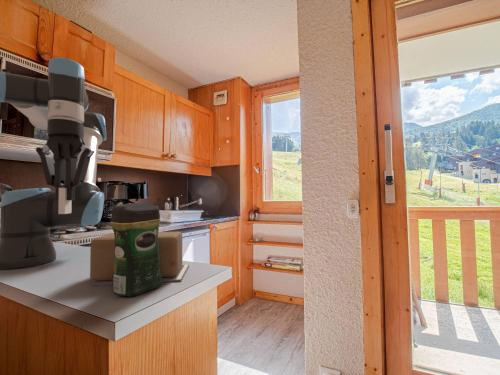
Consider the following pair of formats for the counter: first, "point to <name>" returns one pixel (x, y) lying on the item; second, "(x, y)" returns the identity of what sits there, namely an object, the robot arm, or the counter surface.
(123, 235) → the coffee jar
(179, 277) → the gray book
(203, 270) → the counter surface
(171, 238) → the wooden block
